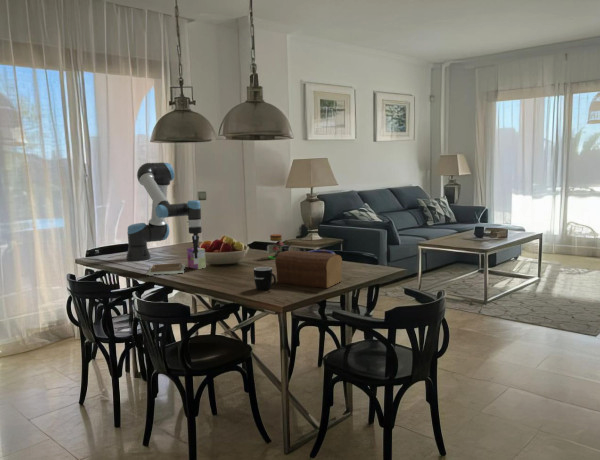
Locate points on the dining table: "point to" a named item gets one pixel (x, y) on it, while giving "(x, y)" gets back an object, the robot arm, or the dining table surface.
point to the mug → (263, 278)
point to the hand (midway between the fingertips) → (196, 261)
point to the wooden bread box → (308, 268)
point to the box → (201, 258)
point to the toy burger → (275, 245)
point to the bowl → (322, 251)
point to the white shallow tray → (166, 269)
